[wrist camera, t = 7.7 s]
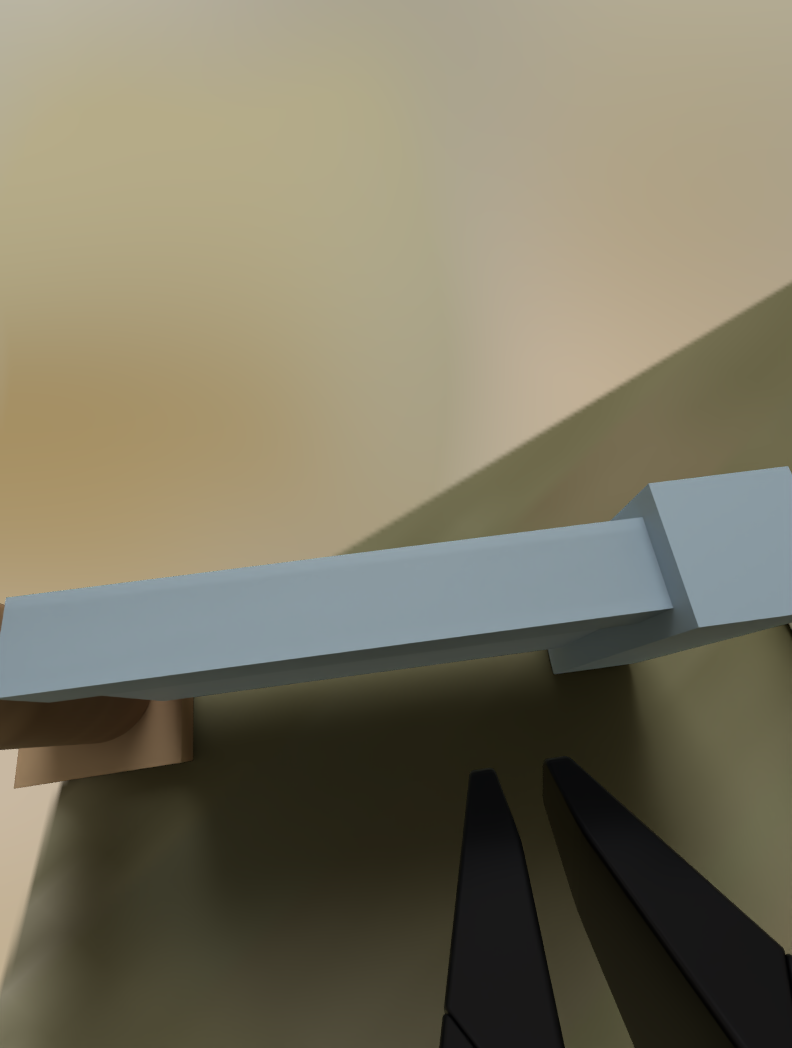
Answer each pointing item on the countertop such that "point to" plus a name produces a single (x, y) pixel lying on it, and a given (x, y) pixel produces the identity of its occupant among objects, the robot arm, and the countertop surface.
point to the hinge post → (94, 735)
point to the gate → (427, 603)
